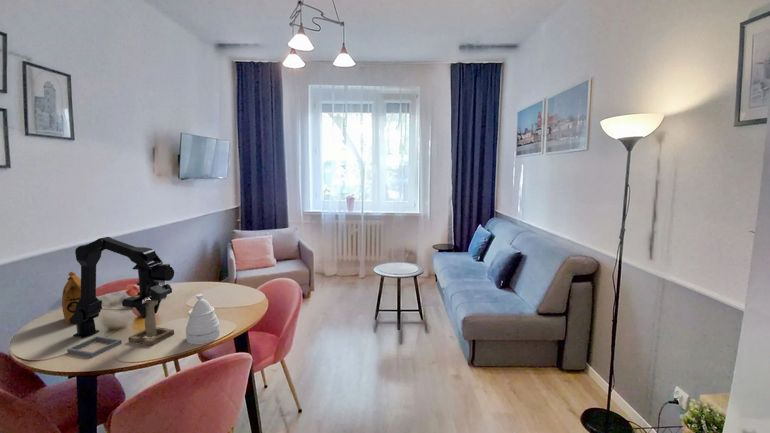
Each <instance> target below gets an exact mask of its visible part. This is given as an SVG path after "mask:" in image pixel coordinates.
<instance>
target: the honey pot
mask: <svg viewBox="0 0 770 433" xmlns="http://www.w3.org/2000/svg"><path fill="white" fill-rule="evenodd" d="M195 297H196V299H197V301H196V302H195V304H194V306H193V307H192V308H191V309H190V310H188V312H187V313H188V314H187V315H188V316H189V318H188V320H187V325H186V327H185V334H186V335H185V336H186V339H185V340H186V342H187V343H189V344H191V345H203V344H207V343H211V342H213V341H215V340H218V338H219V337H220V336H221V326H220V321H219V319H218V317H217V314H216V312H215V307H214V306H211V304H210V302H208V301H207V300H206V299H204V298H203V297H204V294H202V293H200V294H199V293H198V294H196V295H195Z"/></svg>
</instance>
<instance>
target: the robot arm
mask: <svg viewBox="0 0 770 433" xmlns="http://www.w3.org/2000/svg"><path fill="white" fill-rule="evenodd" d="M105 250H107V251H110V252H113V253H115V254H119V255H120V256H123V257H126V258H128V259H129V260H130V261H131V262H132V263H134V264H135V265H134V266H133V267H132V270H135V271H136V270H137V273H138V274H137V275H138V282H136V287H137V286H139V288H138V289H139V290H140V291H138V292H137V296H128V297H126V298H124V299H123V300H122V302H121V305H122V307H125V308H131V309H132V308H135V309H136V311H137V312H138V314H140V316H141V318H142V319H145V318H146V309H145V306H146V305H147V303H145V299H148V298H150V299H151V300H158V304H157V305H155V306H154V312H155V314H157V313H158V310H159V308H160V304H161V301H162V300H163V298H164V299H166V298H167V297H168V295H170V294H172V293H173V288H172V287H171V284H169V283H165V285H164V286H163V285H162V286H160V285H159V283H158V281H155V280H159V281H165V282H169V281H172V280H173V278H174V277H175V276H174V275H175V269H174V268H173V267H172V266H171V263H165V264H164V262H163V261H162V259H161V258H160V257H159V255H158V254H157V253H156V250H155V249H153V248H150V247H143V246H142V247H141V246H139V247H138V246H134V245H132V244H128V243H126V242H123V241H120V240H117V239H114V238H112V237H111V236H104V237H99V238H97V239H96V240H93V241H92V242H89V243H87V244H82V245H79V246H78V247H76V248H75V252H74V253H75V259H76V262H78V264H79V265H80V279H81V298H80V300H79V302H78V303H77V305H76V309H75V314H74V315H73V316H72V317H71V318H70V319H69V321H70V323H71V324H70V325H75V326H76V333H73V337H76V338H81V339H84V338H88V337H89V336H90V337H91V336H93V335H94V334H96V333H100V330H99V329H96V323H95V319H96V318H98V317H99V315H100V313H101V311H102V310H103V306H102V305H103V300H101V299H100V300H99V299H98V297H97V265H98V262H99V261H100V259H101V257H102V252H103V251H105ZM165 297H166V298H165Z"/></svg>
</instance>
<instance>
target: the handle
mask: <svg viewBox="0 0 770 433" xmlns="http://www.w3.org/2000/svg"><path fill="white" fill-rule="evenodd" d="M145 303H147V305H146V306H145V309H146V318H144V330H146V333H147V334H146V337H147V338H154V337H156V335H157V333H156V327H157V320H156V319H157V318H156V313H155V312H154V306H155V305H157V304H158V300H146V301H145Z"/></svg>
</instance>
